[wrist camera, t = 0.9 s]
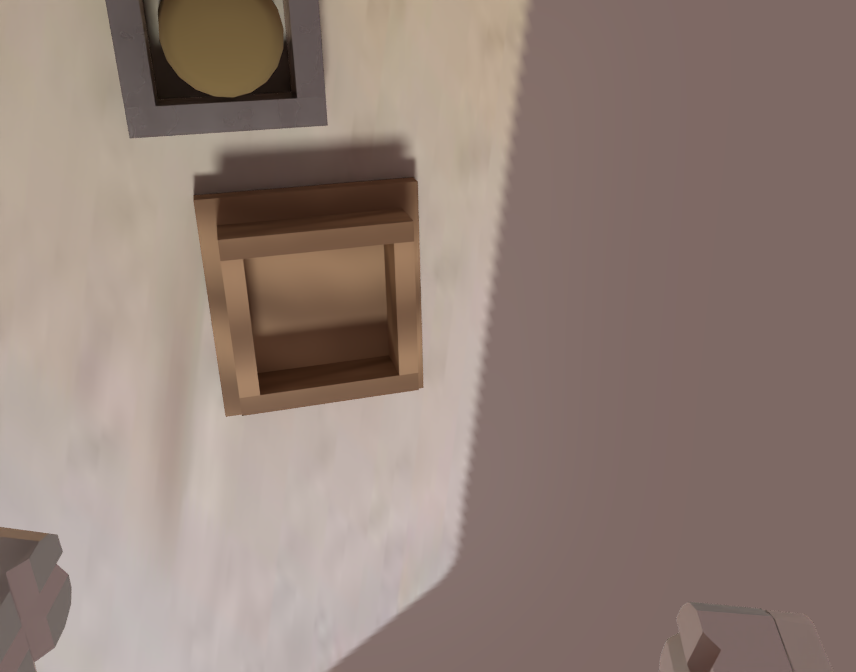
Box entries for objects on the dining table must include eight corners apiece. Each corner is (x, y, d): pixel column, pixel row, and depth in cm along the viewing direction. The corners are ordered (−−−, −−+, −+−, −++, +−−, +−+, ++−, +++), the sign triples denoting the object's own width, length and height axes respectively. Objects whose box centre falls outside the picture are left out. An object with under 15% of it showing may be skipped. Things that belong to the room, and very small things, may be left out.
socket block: (97, -82, 38) (89, -88, 36) (304, -83, 41) (311, -88, 38) (134, 129, 43) (129, 138, 40) (319, 117, 45) (327, 125, 42)
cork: (241, -57, 40) (255, -71, 31) (293, 56, 43) (321, 75, 34) (134, -8, 40) (115, -8, 30) (194, 102, 43) (193, 135, 33)
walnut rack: (193, 195, 45) (193, 213, 41) (412, 177, 48) (430, 193, 44) (225, 407, 50) (227, 440, 47) (418, 379, 53) (435, 408, 50)
